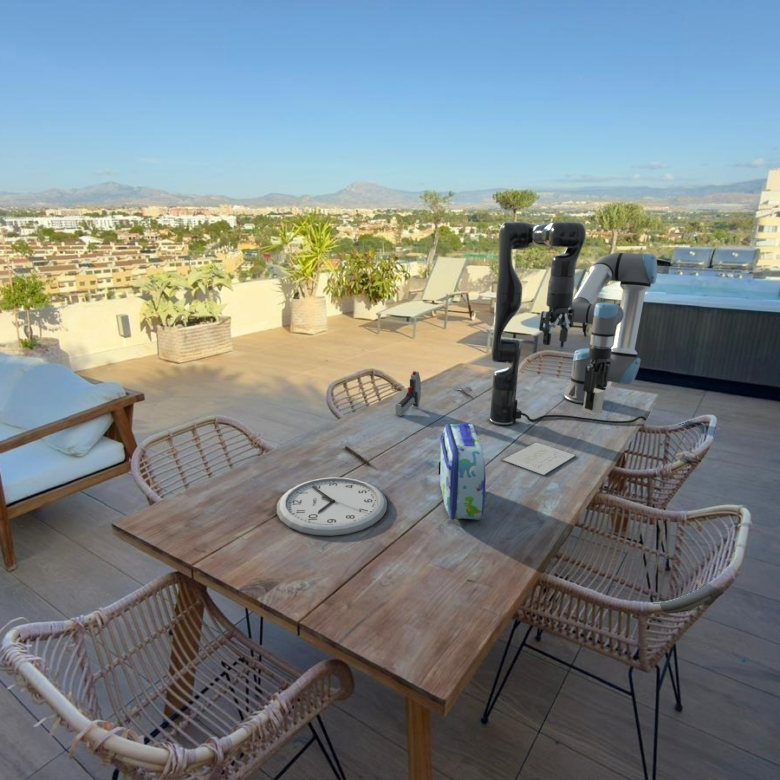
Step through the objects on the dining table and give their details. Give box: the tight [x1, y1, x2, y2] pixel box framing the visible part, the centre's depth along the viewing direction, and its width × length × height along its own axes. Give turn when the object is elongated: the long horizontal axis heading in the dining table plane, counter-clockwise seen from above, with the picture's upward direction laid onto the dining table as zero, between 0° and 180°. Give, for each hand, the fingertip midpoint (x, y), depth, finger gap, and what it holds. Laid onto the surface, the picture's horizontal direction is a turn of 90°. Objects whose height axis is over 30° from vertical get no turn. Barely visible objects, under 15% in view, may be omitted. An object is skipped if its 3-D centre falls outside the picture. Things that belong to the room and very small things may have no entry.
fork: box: [453, 383, 470, 397], centre depth 242 cm, size 3×16×2 cm, turn 16°
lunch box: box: [438, 422, 486, 521], centre depth 142 cm, size 26×11×21 cm, turn 179°
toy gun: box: [395, 370, 422, 417], centre depth 214 cm, size 2×16×15 cm
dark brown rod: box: [344, 445, 370, 465], centre depth 173 cm, size 15×1×1 cm, turn 34°
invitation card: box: [502, 442, 577, 476], centre depth 174 cm, size 21×1×15 cm
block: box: [582, 388, 606, 416], centre depth 194 cm, size 4×5×9 cm
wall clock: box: [276, 476, 388, 537], centre depth 142 cm, size 30×2×30 cm
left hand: (554, 343), depth 164 cm, fingers open, 8 cm apart
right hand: (592, 407), depth 195 cm, fingers closed on block, 4 cm apart
